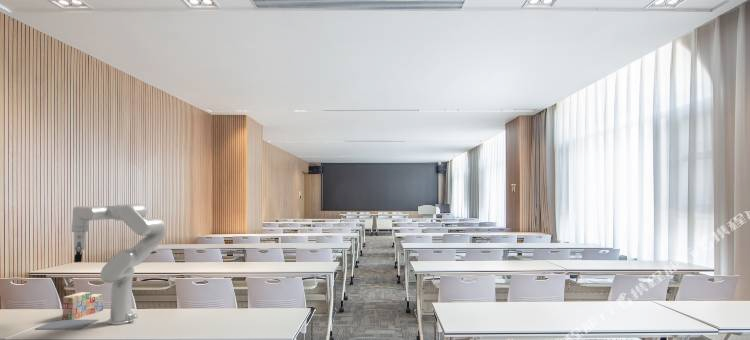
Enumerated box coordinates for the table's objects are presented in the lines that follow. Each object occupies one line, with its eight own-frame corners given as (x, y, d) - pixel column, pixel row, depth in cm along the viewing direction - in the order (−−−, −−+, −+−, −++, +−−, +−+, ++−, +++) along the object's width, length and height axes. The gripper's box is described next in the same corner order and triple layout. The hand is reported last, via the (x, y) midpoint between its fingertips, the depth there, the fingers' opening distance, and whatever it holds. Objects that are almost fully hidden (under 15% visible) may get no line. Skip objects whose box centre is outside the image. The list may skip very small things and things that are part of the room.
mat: (98, 320, 243) (98, 319, 243) (79, 329, 227) (79, 328, 227) (56, 320, 242) (56, 319, 242) (35, 329, 226) (35, 328, 226)
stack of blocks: (94, 309, 265) (94, 288, 265) (103, 310, 264) (103, 288, 264) (62, 319, 244) (62, 296, 245) (71, 320, 243) (72, 297, 243)
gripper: (88, 230, 241) (86, 262, 240) (88, 227, 256) (86, 258, 255) (71, 230, 237) (69, 263, 236) (72, 227, 252) (70, 258, 251)
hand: (78, 260), depth 245 cm, fingers open, 9 cm apart
